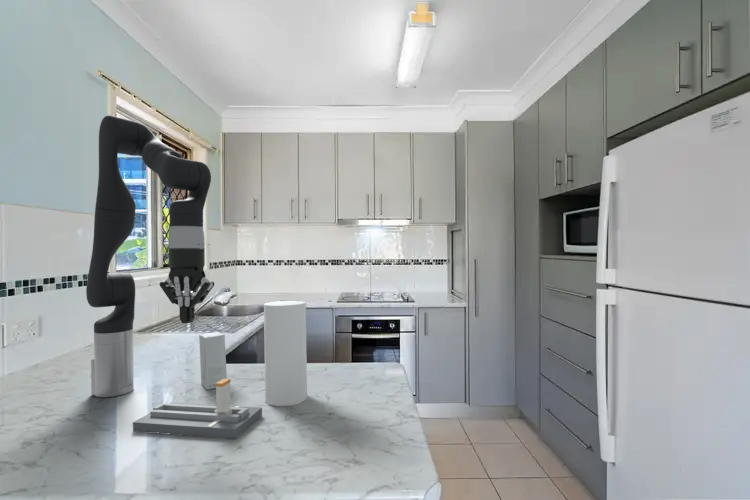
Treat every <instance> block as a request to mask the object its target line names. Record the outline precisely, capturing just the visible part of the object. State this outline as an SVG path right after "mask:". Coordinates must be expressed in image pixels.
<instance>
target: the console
mask: <svg viewBox="0 0 750 500" xmlns="http://www.w3.org/2000/svg"><path fill="white" fill-rule="evenodd" d="M229 408H232V414H219V413H214V411H215V410H216V404H201V403H187V402H168V403H167V402H166V403H160V404H158V405H157V406H154V407H152V410H151V411H149V413H148V414H146V415H144V416H142V417H140V418H138V419H136V420H134V421H132V432H133V433H134V432H136V433H146V432H159V433H158V434H160V433H170V434H169V435H174V434H182V435H181V436H187V435H192V436H191V437H201V436H202V438H204V437H205V438H216V439H218V438H219V439H231V440H237V438H238V437H240V436H241V435H242V434H243V433H244V432H246V431H247V430H248V429H249V428H250V427H251V426H253V425H254V424H255V423H256V422H257V421H258V420H259V419H261V418H262V417H263V407H260V406H259V407H257V406H238V405H230V407H229Z"/></svg>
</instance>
